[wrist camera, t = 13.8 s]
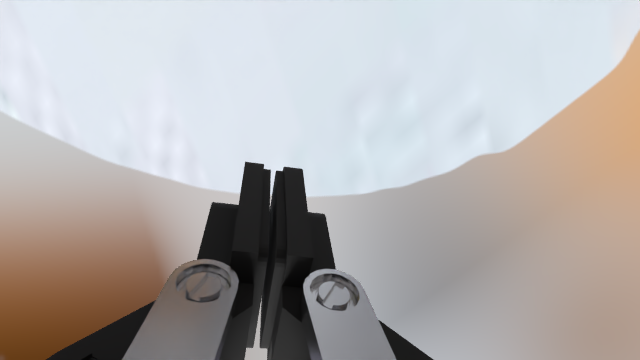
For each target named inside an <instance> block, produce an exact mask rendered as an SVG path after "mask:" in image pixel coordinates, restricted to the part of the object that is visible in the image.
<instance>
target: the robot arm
mask: <svg viewBox="0 0 640 360" xmlns="http://www.w3.org/2000/svg"><path fill="white" fill-rule="evenodd" d="M270 176H271V170H267V169H264V164H258V163H250V162H245V167H244V174H243V180H242V187H241V193H240V201H239V205H234V204H225V203H215V202H213V203H212V205H211V209H210V212H209V216H208V220H207V224H206V227H205V231H204V235H203V239H202V243H201V246H200V250H199V254H198V258H197V260H193V261H190V262H187V263H184V264H182V265H181V266H179V267H178V268H176V269H175V270H174V271H173V273H172V274H171V275H170V276H169V278H168V280H167V282H166V283H165V285H164V287H163V289H162V290H161V292H160V294H159V296H158V298H157V299H156V300H155V301H153V302H152V303H150V304H148V305H146V306H144V307H142V308H140V309H138V310H136V311H135V312H132V313H131V314H129V315H127V316H125V317H123V318H121V319H119V320H117V321H116V322H114V323H112V324H110V325H108V326H106V327H104V328H102V329H100V330H98V331H96V332H95V333H93V334H91V335H89V336H87V337H85V338H83V339H81V340H79V341H77V342H76V343H74V344H72V345H70V346H68V347H66V348H64V349H62V350H60V351H59V352H57V353H55V354H54V355H52V356H51V357H49V358H48V359H46V360H244V358H245V352H246V348H253V345H254V339H255V333H256V327H257V321H258V315H259V309H260V303H261V297H262V305H261V328H260V348H268V353H267V360H433V359H432V358H430V357H429V356H428V355H426V354H425V353H423V352H422V351H421V350H419V349H418V348H417V347H415V346H414V345H412V344H411V343H410V342H408V341H407V340H406V339H404V338H403V337H401V336H400V335H399V334H397V333H396V332H395V331H393V330H392V329H390V328H389V327H387V326H386V325H385V324H384V323H382V322H381V321H379V320H378V318H377V316H376V314H375V312H374V309H373V307H372V305H371V303H370V301H369V299H368V296H367V294H366V292H365V290H364V288H363V287H362V285H361V284H360V282H358V281H357V280H356V279H355V278H354V277H353V276H351V275H349V274H347V273H345V272H342V271H339V270H336V269H335V263H334V258H333V253H332V248H331V242H330V237H329V232H328V227H327V222H326V217H325V215H324V214H320V213H311V212H308V210H307V201H306V193H305V185H304V177H303V170H302V169H298V168H290V167H284V168H283V171H276V174H275V181H274V187H273V193H272V200H271V206H270Z"/></svg>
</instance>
